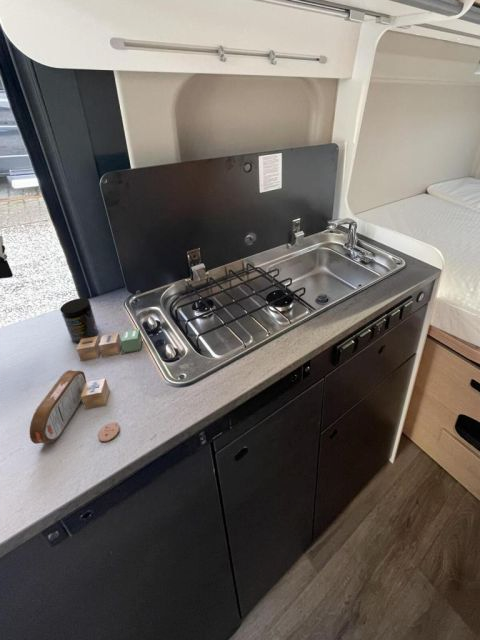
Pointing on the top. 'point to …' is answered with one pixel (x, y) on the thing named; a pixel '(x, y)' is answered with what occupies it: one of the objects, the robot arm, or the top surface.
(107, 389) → the front word
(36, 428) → the tin
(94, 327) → the supplement container
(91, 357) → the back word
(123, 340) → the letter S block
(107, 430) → the cookie
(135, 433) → the top surface
